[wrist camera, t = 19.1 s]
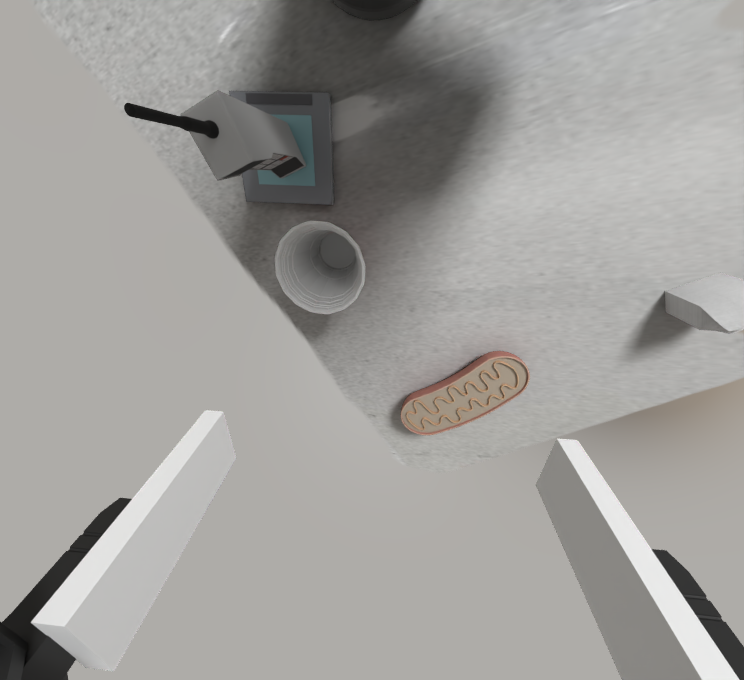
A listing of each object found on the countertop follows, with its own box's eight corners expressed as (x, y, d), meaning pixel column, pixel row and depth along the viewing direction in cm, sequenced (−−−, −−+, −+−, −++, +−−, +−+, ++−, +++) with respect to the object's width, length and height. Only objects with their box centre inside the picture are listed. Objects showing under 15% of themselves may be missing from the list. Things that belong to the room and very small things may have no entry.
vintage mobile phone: (283, 178, 40) (142, 183, 18) (263, 137, 38) (75, 85, 16) (307, 166, 39) (190, 155, 17) (288, 122, 37) (126, 46, 15)
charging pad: (233, 93, 37) (228, 90, 36) (330, 95, 36) (328, 92, 35) (250, 200, 43) (246, 201, 42) (333, 204, 42) (332, 204, 41)
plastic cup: (348, 194, 41) (331, 200, 31) (386, 263, 45) (382, 289, 35) (287, 234, 45) (252, 252, 34) (327, 295, 49) (308, 328, 38)
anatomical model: (503, 331, 49) (513, 346, 45) (529, 372, 53) (541, 389, 48) (391, 393, 57) (390, 411, 53) (420, 425, 61) (421, 444, 56)
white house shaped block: (664, 290, 44) (730, 319, 35) (720, 272, 42) (803, 297, 34) (665, 312, 46) (728, 344, 37) (719, 295, 44) (798, 325, 35)
